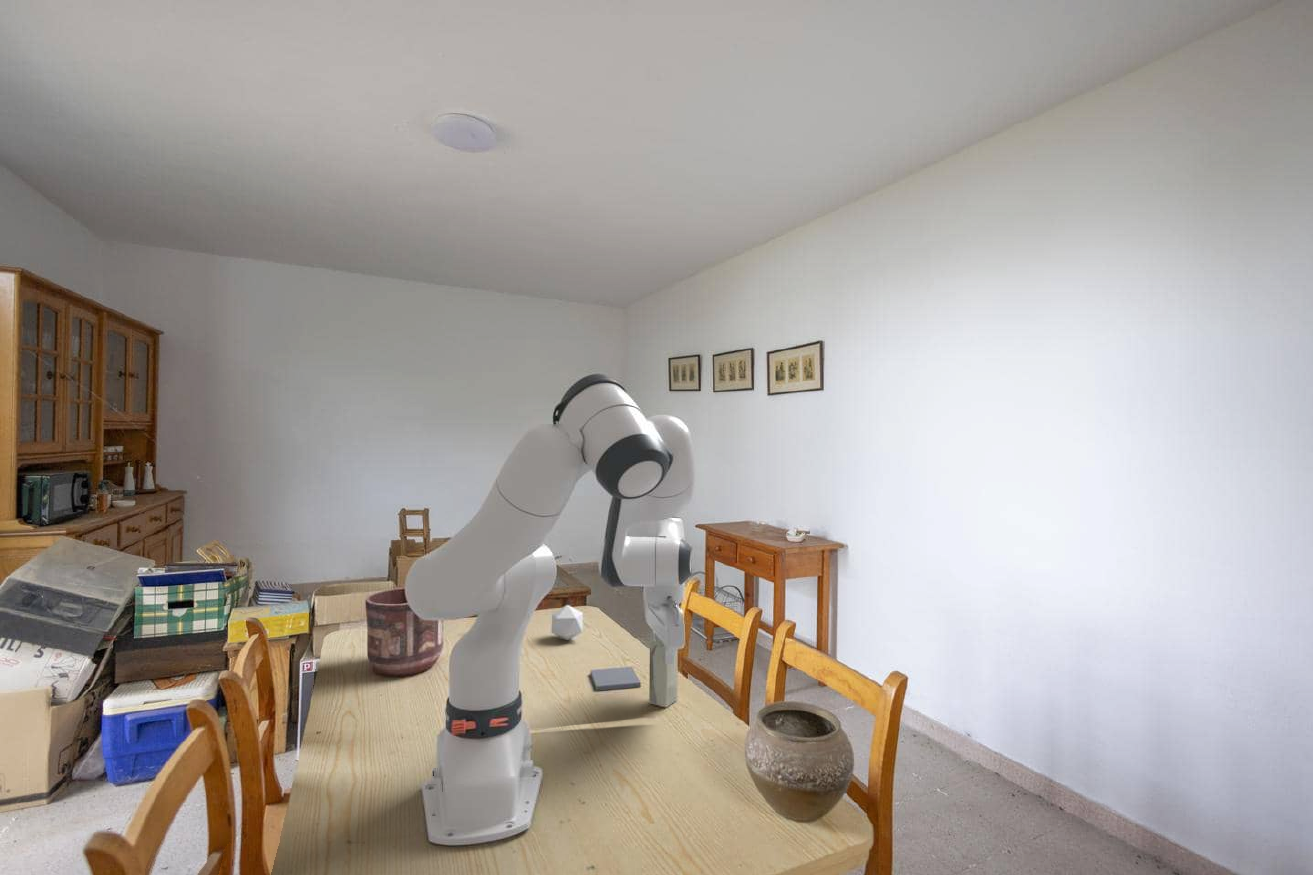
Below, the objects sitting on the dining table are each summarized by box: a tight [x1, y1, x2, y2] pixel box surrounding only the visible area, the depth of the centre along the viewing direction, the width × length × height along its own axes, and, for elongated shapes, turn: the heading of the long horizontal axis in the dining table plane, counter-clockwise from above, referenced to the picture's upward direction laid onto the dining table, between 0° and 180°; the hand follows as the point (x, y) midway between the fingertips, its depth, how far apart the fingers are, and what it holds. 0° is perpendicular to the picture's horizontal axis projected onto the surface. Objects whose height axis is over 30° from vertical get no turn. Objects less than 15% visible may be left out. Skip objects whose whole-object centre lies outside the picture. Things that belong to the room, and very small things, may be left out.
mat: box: [590, 666, 641, 692], centre depth 141 cm, size 10×10×1 cm
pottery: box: [365, 587, 445, 678], centre depth 147 cm, size 18×18×18 cm
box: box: [648, 639, 679, 708], centre depth 129 cm, size 5×4×13 cm
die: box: [551, 604, 584, 641], centre depth 169 cm, size 8×9×10 cm
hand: (663, 656), depth 129 cm, fingers closed on box, 6 cm apart
